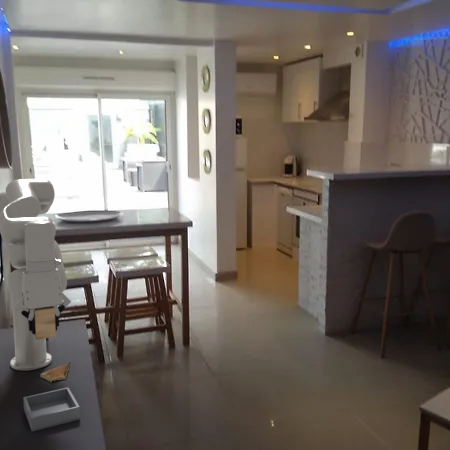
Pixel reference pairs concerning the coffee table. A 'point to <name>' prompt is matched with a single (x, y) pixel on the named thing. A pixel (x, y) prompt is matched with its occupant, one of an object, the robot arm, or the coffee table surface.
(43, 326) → the oak block
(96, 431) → the coffee table surface
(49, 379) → the shard
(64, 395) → the tray
